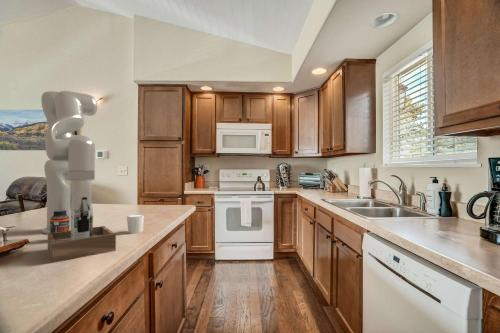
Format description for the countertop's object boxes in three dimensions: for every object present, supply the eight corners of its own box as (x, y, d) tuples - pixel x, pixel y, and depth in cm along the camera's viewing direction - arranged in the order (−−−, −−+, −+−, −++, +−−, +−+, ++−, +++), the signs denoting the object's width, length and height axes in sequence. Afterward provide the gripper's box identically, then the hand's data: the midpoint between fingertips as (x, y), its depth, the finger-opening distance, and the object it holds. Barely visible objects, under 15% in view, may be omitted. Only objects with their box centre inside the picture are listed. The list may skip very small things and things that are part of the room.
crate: (47, 249, 88) (47, 233, 88) (103, 240, 100) (104, 225, 100) (52, 262, 76) (52, 243, 76) (115, 250, 88) (115, 234, 88)
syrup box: (72, 251, 84) (72, 206, 84) (70, 247, 89) (70, 204, 88) (92, 248, 88) (93, 205, 88) (89, 244, 92) (90, 202, 92)
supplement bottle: (59, 242, 97) (59, 211, 97) (45, 241, 98) (45, 211, 98) (73, 238, 103) (73, 209, 103) (60, 237, 104) (60, 208, 104)
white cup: (123, 233, 111) (123, 216, 111) (135, 229, 117) (135, 213, 117) (135, 234, 109) (135, 217, 109) (147, 230, 115) (147, 214, 115)
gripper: (64, 175, 92) (64, 226, 92) (72, 177, 79) (72, 237, 79) (89, 175, 97) (89, 223, 97) (100, 176, 84) (100, 232, 84)
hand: (81, 229), depth 88 cm, fingers open, 6 cm apart
